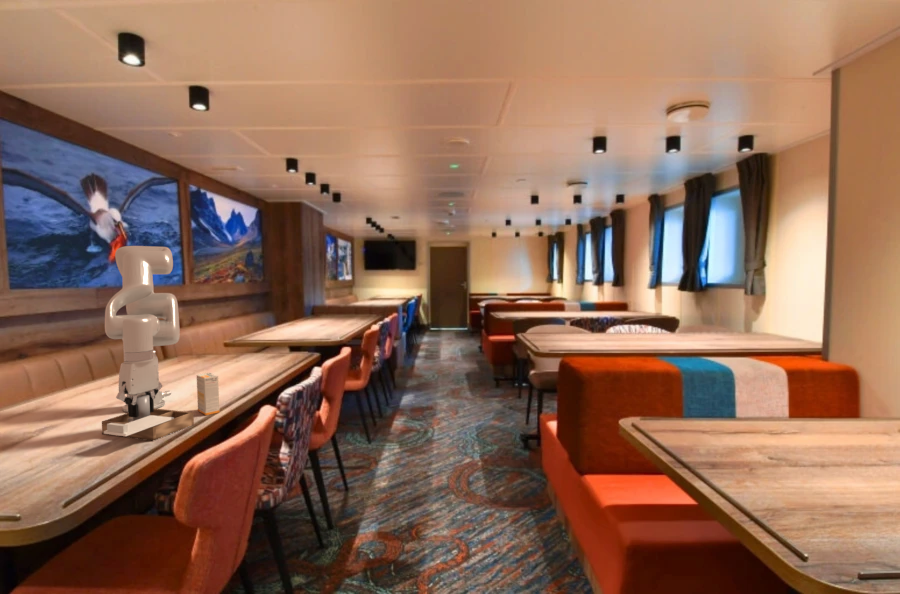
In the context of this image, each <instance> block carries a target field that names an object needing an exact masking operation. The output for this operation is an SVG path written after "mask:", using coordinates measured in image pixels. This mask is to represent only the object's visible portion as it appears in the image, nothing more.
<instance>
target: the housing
mask: <svg viewBox="0 0 900 594" xmlns="http://www.w3.org/2000/svg"><path fill="white" fill-rule="evenodd" d="M150 415H154V416H163V417H171V420H169V421H166V422H164V423H161V424H158V425H155V426H153V427H150V428H147V429H145V430H142V431H139V432H136V433H134V434H131V435H128V436H123V437H122V438H127V437H130V439H135V438H138V439H137V440H143V439H147V440H146V441H151V440H155V441H157V440H159V439H158V438H160V439H162V438H164V437H163V436H165V437H166V435H167V436H169V435H171V434H170V433H172V434H174V433H176V431H177V432H178V430H179V431H181V429H182V430H184V429H187V428H189V427H191V426H194V425H195V420H194V419H195V416H194V412H191V411H185V410H184V411H182V410H173V409H163V408H156V409H155V408H154V412H150ZM128 418H131V417H129V414H128V412H126V413H125V414H120V415H118V416H115V417H112V418H107V419H105V420H102V421H101V434H102V435H104V431H106V430H107V424H109V423H118V424H126V423H129V422H128ZM188 426H189V427H188ZM186 427H187V428H186ZM183 428H184V429H183ZM173 432H174V433H173ZM168 434H169V435H168ZM108 436H112V435H111V434H109V435H108ZM116 437H119V435H117V436H116ZM161 437H162V438H161ZM156 439H157V440H156Z"/></svg>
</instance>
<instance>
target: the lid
mask: <svg viewBox="0 0 900 594" xmlns="http://www.w3.org/2000/svg"><path fill="white" fill-rule="evenodd" d="M169 420H171V417H163V416H154V415H150V416H147V417H144V418H141V419H138V420H135V421H132V422H129V423H126V424H118V423H109V424H107V430H106V431H104V434H111V435H110V436H112V435H119V436H128V435H131V434H134V433H136V432H139V431H142V430H145V429H147V428H150V427H153V426H155V425H158V424H161V423H164V422H166V421H169ZM104 434H103V435H104ZM119 436H118V437H119Z"/></svg>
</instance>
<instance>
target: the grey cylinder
mask: <svg viewBox="0 0 900 594" xmlns="http://www.w3.org/2000/svg"><path fill="white" fill-rule="evenodd" d="M136 404H138V417H131V418H128V422H132V421H135V420H138V419H141V418H144V417H147V416H150V399H149V395H138V396H137V400H136Z"/></svg>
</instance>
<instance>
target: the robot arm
mask: <svg viewBox="0 0 900 594" xmlns="http://www.w3.org/2000/svg"><path fill="white" fill-rule="evenodd" d="M114 255H115V256H114V257H115V262H116V266H117V269H118V271H119V274H120V275H121V278H122V288H121V289H120V290H119V291H118V292H116V293H115V294H114V295H113V296H112V297H111V298H110V299H109V300H108V302H107V304H106V306H105V309H104V332H105V335H106V336H107V337H108V338H109V339H112V340H122V343H123V349H122V350H123V362H122V363H120V368H119V373H118V393H117V395H116V397H115V399H117V400H120V401H121V402H122V403H124V404H125V405H123V406H122V411H123V412H125V413H128V414H129V417H138V404H136V400H137V396H138V395H149V399H150V412H154V408H155V409H160V408H161V407H163V406H164V405H166V403H165V402H166V401H165V400H164V397H165V398H166V397H169V396H171V395H172V392H171V390H166V391H163V392H162V391H160V390H161V389H162V388H163V384H162V383H161V382H160V376H159V373H160V372H159V358H158V356H157V354H156V353H157V352H156V350H155V349H154V347H159V346H160V347H161V346H163V347H164V346H171V345H175V344H177V343H178V342H179V341H180V336H181V335H180V333H181V330H180V317H179V316H180V314H179V304H178V299H177V297H176V295H175V294H173V293H172V292H171V293H170V292H154V291H155V290H154V289H155V288H154V280H153V279H154V277H153V275H169V274H171V272H172V271H173V268H174V260H173V259H174V258H173V253H172V251H171V249H170V248H169V247H167V246H149V245H148V246H147V245H145V246H144V245H125V246H120V247H118V248H117V249H116V251H115V254H114ZM124 306H125V308H126V310H125V311H126V314H124V315H123V314H122V315H117V312H118V311H119V310H120V309H121V308H123V307H124Z"/></svg>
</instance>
